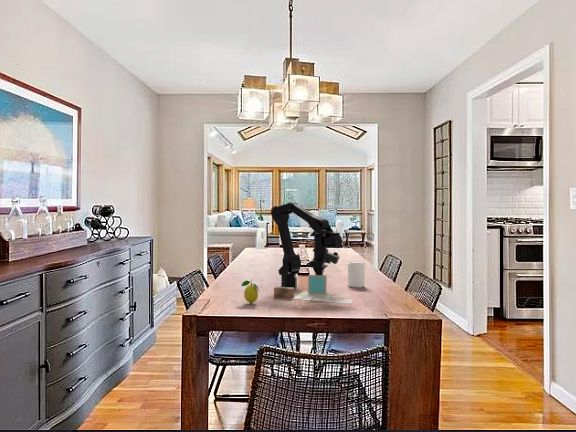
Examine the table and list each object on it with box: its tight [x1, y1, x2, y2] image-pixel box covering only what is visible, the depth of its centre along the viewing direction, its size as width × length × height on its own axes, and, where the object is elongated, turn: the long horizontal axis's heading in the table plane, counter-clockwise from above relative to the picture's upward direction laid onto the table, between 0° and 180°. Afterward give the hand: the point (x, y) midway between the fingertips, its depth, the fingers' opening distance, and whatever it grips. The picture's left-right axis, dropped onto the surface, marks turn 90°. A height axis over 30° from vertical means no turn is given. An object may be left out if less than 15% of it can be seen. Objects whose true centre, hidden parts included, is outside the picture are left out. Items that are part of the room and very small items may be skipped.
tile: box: [307, 274, 328, 294], centre depth 229 cm, size 8×2×8 cm, turn 73°
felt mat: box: [296, 290, 335, 298], centre depth 225 cm, size 14×12×1 cm
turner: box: [273, 286, 315, 302], centre depth 217 cm, size 16×7×4 cm, turn 73°
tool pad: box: [311, 297, 355, 304], centre depth 213 cm, size 16×8×1 cm, turn 73°
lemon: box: [241, 278, 261, 305], centre depth 206 cm, size 7×6×10 cm
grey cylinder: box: [347, 260, 366, 289], centre depth 250 cm, size 8×8×12 cm
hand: (319, 281), depth 233 cm, fingers closed
